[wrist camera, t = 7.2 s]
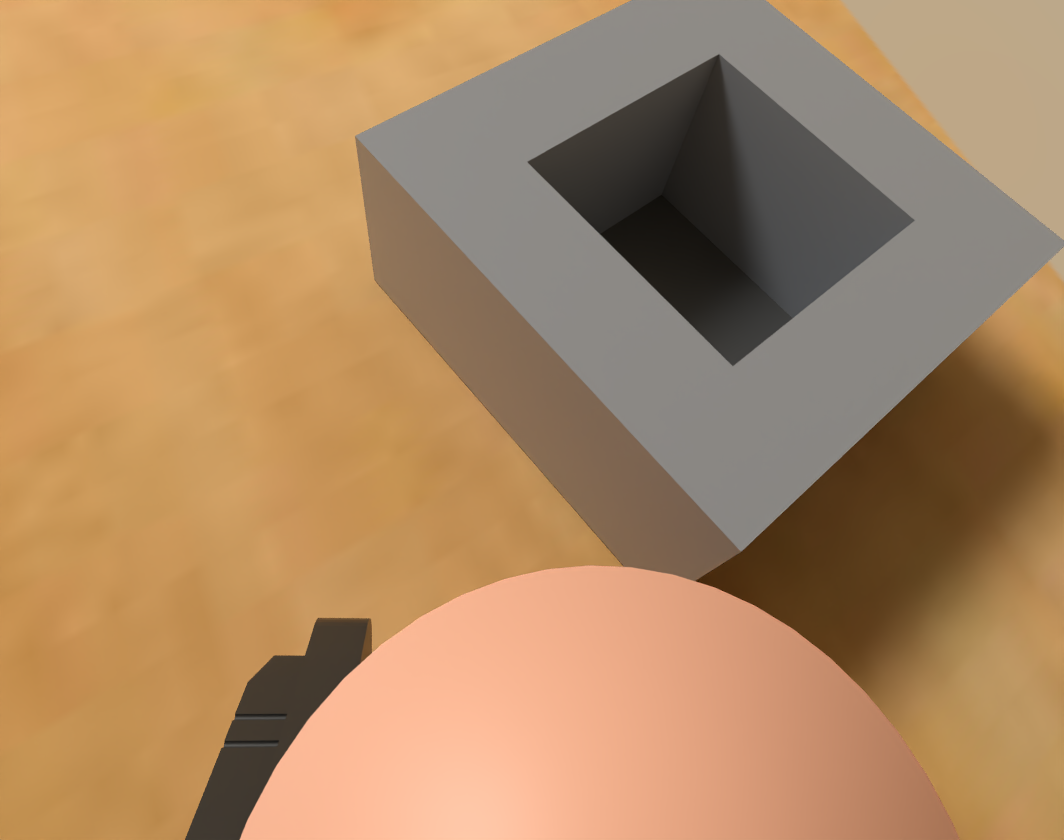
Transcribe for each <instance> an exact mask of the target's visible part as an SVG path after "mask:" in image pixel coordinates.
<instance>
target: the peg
mask: <svg viewBox="0 0 1064 840" xmlns="http://www.w3.org/2000/svg"><path fill="white" fill-rule="evenodd" d="M240 840H960V839H959V837H958V835H957V832H956V830H955V827H954V825H953V823H952V821H951V819H950V817H949V815H948V813H947V811H946V810H945V808H944V806H943V804H942V802H941V800H940V798H939V797H938V795H937V793H936V791H935V789H934V787H933V785H932V784H931V782H930V780H929V778H928V776H927V774H926V773H925V771H924V770H923V768H922V767H921V765H920V764H919V762H918V761H917V759H916V758H915V756H914V755H913V753H912V752H911V750H910V749H909V747H908V746H907V744H906V743H905V741H904V740H903V739H902V737H901V736H900V734H899V733H898V731H897V730H896V729H895V727H894V726H893V725H892V724H891V723H890V721H889V720H888V719H887V718H886V717H885V715H884V714H883V713H882V712H881V710H880V709H879V708H878V707H877V706H876V704H875V703H874V702H873V701H872V700H871V698H870V697H869V696H868V695H867V694H866V692H865V691H864V690H863V689H862V688H861V687H860V686H859V685H858V684H856V683H855V682H854V681H853V680H852V679H851V678H850V677H849V676H848V675H847V674H846V673H845V672H844V671H843V670H842V669H841V668H840V667H839V666H838V665H837V664H836V663H835V662H834V661H833V660H832V659H831V658H830V657H828V656H827V655H826V654H825V653H823V652H822V651H821V650H819V649H818V648H817V647H816V646H814V645H813V644H812V643H810V642H809V641H808V640H807V639H805V638H804V637H803V636H801V635H800V634H799V633H798V632H796V631H795V630H794V629H792V628H791V627H789V626H787V625H786V624H784V623H782V622H781V621H779V620H777V619H776V618H774V617H772V616H771V615H769V614H768V613H766V612H764V611H763V610H761V609H759V608H758V607H756V606H754V605H752V604H750V603H748V602H746V601H743V600H741V599H739V598H737V597H735V596H732V595H730V594H728V593H726V592H724V591H721V590H719V589H717V588H715V587H712V586H708V585H705V584H702V583H699V582H696V581H692V580H689V579H686V578H683V577H679V576H676V575H673V574H667V573H661V572H656V571H650V570H644V569H638V568H633V567H612V566H579V567H568V568H557V569H546V570H542V571H538V572H533V573H529V574H524V575H520V576H516V577H511V578H507V579H503V580H501V581H498V582H495V583H492V584H490V585H487V586H484V587H482V588H479V589H476V590H474V591H471V592H468V593H466V594H463V595H461V596H459V597H457V598H455V599H453V600H451V601H450V602H448V603H446V604H444V605H442V606H440V607H438V608H436V609H434V610H433V611H431V612H429V613H427V614H425V615H423V616H421V617H420V618H418V619H417V620H416V621H414V622H413V623H411V624H410V625H408V626H407V627H406V628H404V629H403V630H401V631H400V632H398V633H397V634H396V635H394V636H393V637H391V638H390V639H389V640H387V641H386V642H384V643H383V644H382V645H380V646H379V647H378V648H377V649H376V650H375V651H374V652H373V653H372V654H370V655H369V656H368V657H367V658H366V659H365V660H364V661H363V662H362V663H361V664H359V665H358V666H357V667H356V668H355V669H354V670H353V671H352V672H351V673H349V674H348V675H347V676H346V677H345V678H344V679H343V680H342V681H341V682H340V684H339V685H338V686H337V687H336V688H335V689H334V690H333V692H332V693H331V694H330V695H329V696H328V697H327V699H326V700H325V701H324V702H323V703H322V704H321V705H320V707H319V708H318V709H317V710H316V711H315V712H314V713H313V715H312V716H311V717H310V718H309V719H308V721H307V722H306V724H305V725H304V726H303V728H302V729H301V731H300V732H299V734H298V735H297V737H296V738H295V740H294V741H293V743H292V744H291V745H290V747H289V748H288V750H287V751H286V753H285V754H284V756H283V757H282V759H281V760H280V761H279V763H278V764H277V766H276V768H275V769H274V771H273V773H272V775H271V777H270V779H269V781H268V783H267V784H266V786H265V788H264V790H263V792H262V794H261V796H260V798H259V799H258V801H257V803H256V805H255V807H254V809H253V811H252V813H251V814H250V816H249V818H248V820H247V823H246V825H245V828H244V830H243V833H242V835H241V838H240Z"/></svg>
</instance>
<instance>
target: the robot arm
mask: <svg viewBox="0 0 1064 840" xmlns="http://www.w3.org/2000/svg"><path fill="white" fill-rule="evenodd" d="M370 654H372V626H371V619H359V618H318V619H317V620H316V622H315V625H314V628H313V632H312V635H311V638H310V641H309V645H308V648H307V651H306V654H305V656H273V657H272V658H271V659H270V661H269V662H268V663H267V664H266V665H265V666H264V667H263V668H262V669H261V670H260V671H259V672H258V673H257V674H256V675H255V676H254V677H253V678H252V679H251V680H250V681H249V682H248V683H247V686H246V688H245V691H244V693H243V696H242V698H241V701H240V703H239V706H238V708H237V711H236V713H235V720H233V721H232V723H231V726H230V728H229V731H228V733H227V736H226V738H225V743H224V748H221V751H220V753H219V756H218V758H217V761H216V763H215V766H214V768H213V771H212V773H211V776H210V778H209V781H208V783H207V786H206V788H205V791H204V793H203V796H202V799H201V801H200V804H199V806H198V809H197V811H196V814H195V816H194V819H193V821H192V824H191V826H190V829H189V831H188V834H187V836H186V839H185V840H240V838H241V835H242V833H243V830H244V828H245V825H246V823H247V820H248V818H249V816H250V814H251V813H252V811H253V809H254V807H255V805H256V803H257V801H258V799H259V798H260V796H261V794H262V792H263V790H264V788H265V786H266V784H267V783H268V781H269V779H270V777H271V775H272V773H273V771H274V769H275V768H276V766H277V764H278V763H279V761H280V760H281V759H282V757H283V756H284V754H285V753H286V751H287V750H288V748H289V747H290V745H291V744H292V743H293V741H294V740H295V738H296V737H297V735H298V734H299V732H300V731H301V729H302V728H303V726H304V725H305V724H306V722H307V721H308V719H309V718H310V717H311V716H312V715H313V713H314V712H315V711H316V710H317V709H318V708H319V707H320V705H321V704H322V703H323V702H324V701H325V700H326V699H327V697H328V696H329V695H330V694H331V693H332V692H333V690H334V689H335V688H336V687H337V686H338V685H339V684H340V682H341V681H342V680H343V679H344V678H345V677H346V676H347V675H348V674H349V673H351V672H352V671H353V670H354V669H355V668H356V667H357V666H358V665H359V664H361V663H362V662H363V661H364V660H365V659H366V658H367V657H368V656H369V655H370Z"/></svg>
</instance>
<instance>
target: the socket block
mask: <svg viewBox="0 0 1064 840" xmlns="http://www.w3.org/2000/svg"><path fill="white" fill-rule="evenodd" d="M355 139H356V146H357V153H358V161H359V168H360V175H361V183H362V190H363V198H364V205H365V212H366V220H367V227H368V235H369V242H370V249H371V257H372V264H373V271H374V279H375V281H376V282H377V283H378V284H379V286H380V287H381V288H382V289H383V290H384V291H385V292H386V294H387V295H388V296H389V297H390V298H391V299H392V300H393V302H394V303H395V304H396V305H397V306H398V307H399V309H400V310H401V311H402V312H403V313H404V314H405V315H406V317H407V318H408V319H409V320H410V321H411V322H412V323H413V325H414V326H415V327H416V328H417V329H418V330H419V331H420V333H421V334H422V335H423V336H424V337H425V338H426V340H427V341H428V342H429V343H430V344H431V345H432V346H433V348H434V349H435V350H436V351H437V352H438V353H439V354H440V356H441V357H442V358H443V359H444V360H445V361H446V363H447V364H448V365H449V366H450V367H451V368H452V369H453V371H454V372H455V373H456V374H457V375H458V376H459V377H460V379H461V380H462V381H463V382H464V383H465V384H466V385H467V387H468V388H469V389H470V390H471V391H472V392H473V394H474V395H475V396H476V397H477V398H478V399H479V400H480V402H481V403H482V404H483V405H484V406H485V407H486V408H487V410H488V411H489V412H490V413H491V414H492V415H493V416H494V418H495V419H496V420H497V421H498V422H499V423H500V425H501V426H502V427H503V428H504V429H505V430H506V431H507V433H508V434H509V435H510V436H511V437H512V438H513V439H514V441H515V442H516V443H517V444H518V445H519V446H520V447H521V449H522V450H523V451H524V452H525V453H526V454H527V456H528V457H529V458H530V459H531V460H532V461H533V462H534V464H535V465H536V466H537V467H538V468H539V469H540V470H541V472H542V473H543V474H544V475H545V476H546V477H547V478H548V480H549V481H550V482H551V483H552V484H553V485H554V487H555V488H556V489H557V490H558V491H559V492H560V493H561V495H562V496H563V497H564V498H565V499H566V500H567V501H568V503H569V504H570V505H571V506H572V507H573V508H574V509H575V511H576V512H577V513H578V514H579V515H580V516H581V518H582V519H583V520H584V521H585V522H586V523H587V524H588V526H589V527H590V528H591V529H592V530H593V531H594V532H595V534H596V535H597V536H598V537H599V538H600V539H601V541H602V542H603V543H604V544H605V545H606V546H607V547H608V549H609V550H610V551H611V552H612V553H613V554H614V555H615V557H616V558H617V559H618V560H619V561H620V562H621V563H622V565H623V566H624V567H633V568H638V569H644V570H650V571H656V572H661V573H667V574H673V575H676V576H679V577H683V578H686V579H689V580H692V581H696V580H697V579H699V578H700V577H702V576H704V575H705V574H707V573H708V572H710V571H712V570H713V569H715V568H716V567H718V566H719V565H721V564H723V563H724V562H726V561H727V560H729V559H731V558H732V557H734V556H735V555H737V554H738V553H740V552H741V551H743V550H744V549H745V548H746V547H747V546H748V545H749V544H750V543H751V542H752V541H753V540H754V539H755V538H756V537H757V536H758V535H759V534H761V533H762V532H763V531H764V530H765V529H766V528H767V527H768V526H769V525H770V524H771V523H772V522H773V521H774V520H775V519H776V518H777V517H778V516H780V515H781V514H782V513H783V512H784V511H785V510H786V509H787V508H788V507H789V506H790V505H791V504H792V503H793V502H794V501H795V500H796V499H798V498H799V497H800V496H801V495H802V494H803V493H804V492H805V491H806V490H807V489H808V488H809V487H810V486H811V485H812V484H813V483H814V482H815V481H817V480H818V479H819V478H820V477H821V476H822V475H823V474H824V473H825V472H826V471H827V470H828V469H829V468H830V467H831V466H832V465H833V464H835V463H836V462H837V461H838V460H839V459H840V458H841V457H842V456H843V455H844V454H845V453H846V452H847V451H848V450H849V449H850V448H851V447H852V446H854V445H855V444H856V443H857V442H858V441H859V440H860V439H861V438H862V437H863V436H864V435H865V434H866V433H867V432H868V431H869V430H870V429H872V428H873V427H874V426H875V425H876V424H877V423H878V422H879V421H880V420H881V419H882V418H883V417H884V416H885V415H886V414H887V413H888V412H889V411H891V410H892V409H893V408H894V407H895V406H896V405H897V404H898V403H899V402H900V401H901V400H902V399H903V398H904V397H905V396H906V395H907V394H909V393H910V392H911V391H912V390H913V389H914V388H915V387H916V386H917V385H918V384H919V383H920V382H921V381H922V380H923V379H924V378H925V377H926V376H928V375H929V374H930V373H931V372H932V371H933V370H934V369H935V368H936V367H937V366H938V365H939V364H940V363H941V362H942V361H943V360H944V359H946V358H947V357H948V356H949V355H950V354H951V353H952V352H953V351H954V350H955V349H956V348H957V347H958V346H959V345H960V344H961V343H962V342H963V341H965V340H966V339H967V338H968V337H969V336H970V335H971V334H972V333H973V332H974V331H975V330H976V329H977V328H978V327H979V326H980V325H981V324H983V323H984V322H985V321H986V320H987V319H988V318H989V317H990V316H991V315H992V314H993V313H994V312H995V311H996V310H997V309H998V308H999V307H1001V306H1002V305H1003V304H1004V303H1005V302H1006V301H1007V300H1008V299H1009V298H1010V297H1011V296H1012V295H1013V294H1014V293H1015V292H1016V291H1017V290H1018V289H1020V288H1021V287H1022V286H1023V285H1024V284H1025V283H1026V282H1027V281H1028V280H1029V279H1030V278H1031V277H1032V276H1033V275H1034V274H1035V273H1036V272H1038V271H1039V270H1040V269H1041V268H1042V267H1043V266H1044V265H1045V264H1046V263H1047V262H1048V261H1049V260H1050V259H1051V258H1052V257H1053V256H1054V255H1055V254H1056V253H1058V252H1059V251H1060V250H1061V249H1062V248H1063V247H1064V240H1062V239H1061V238H1060V237H1059V236H1057V235H1056V234H1055V233H1054V232H1053V231H1051V230H1050V229H1049V228H1047V227H1046V226H1045V225H1044V224H1043V223H1041V222H1040V221H1039V220H1037V219H1036V218H1035V217H1034V216H1033V215H1031V214H1030V213H1029V212H1028V211H1026V210H1025V209H1024V208H1023V207H1021V206H1020V205H1019V204H1018V203H1016V202H1015V201H1014V200H1013V199H1012V198H1010V197H1009V196H1008V195H1006V194H1005V193H1004V192H1003V191H1001V190H1000V189H999V188H998V187H997V186H995V185H994V184H993V183H991V182H990V181H989V180H988V179H987V178H985V177H984V176H983V175H982V174H980V173H979V172H978V171H977V170H976V169H974V168H973V167H972V166H971V165H969V164H968V163H967V162H966V161H964V160H963V159H962V158H961V157H959V156H958V155H957V154H956V153H954V152H953V151H952V150H951V149H949V148H948V147H947V146H946V145H944V144H943V143H942V142H941V141H940V140H938V139H937V138H936V137H935V136H933V135H932V134H931V133H930V132H928V131H927V130H926V129H925V128H923V127H922V126H921V125H920V124H918V123H917V122H916V121H915V120H913V119H912V118H911V117H910V116H908V115H907V114H906V113H905V112H903V111H902V110H901V109H900V108H899V107H897V106H896V105H895V104H894V103H892V102H891V101H890V100H889V99H887V98H886V97H885V96H884V95H882V94H881V93H880V92H879V91H877V90H876V89H875V88H874V87H872V86H871V85H870V84H869V83H867V82H866V81H865V80H864V79H863V78H861V77H860V76H859V75H858V74H856V73H855V72H854V71H853V70H851V69H850V68H849V67H848V66H846V65H845V64H844V63H843V62H841V61H840V60H839V59H838V58H836V57H835V56H834V55H833V54H831V53H830V52H829V51H828V50H827V49H825V48H824V47H823V46H822V45H820V44H819V43H818V42H817V41H815V40H814V39H813V38H812V37H810V36H809V35H808V34H807V33H805V32H804V31H803V30H802V29H800V28H799V27H798V26H797V25H795V24H794V23H793V22H792V21H790V20H789V19H788V18H787V17H786V16H784V15H783V14H782V13H781V12H779V11H778V10H777V9H776V8H774V7H773V6H772V5H771V4H769V3H768V2H767V1H766V0H631V1H629V2H627V3H625V4H623V5H621V6H619V7H617V8H615V9H613V10H611V11H609V12H607V13H605V14H603V15H601V16H599V17H597V18H594V19H592V20H590V21H588V22H586V23H584V24H582V25H580V26H578V27H576V28H574V29H572V30H570V31H568V32H566V33H564V34H562V35H560V36H558V37H556V38H554V39H552V40H550V41H548V42H546V43H544V44H542V45H539V46H537V47H535V48H533V49H531V50H529V51H527V52H525V53H523V54H521V55H519V56H517V57H515V58H513V59H511V60H509V61H507V62H505V63H503V64H501V65H499V66H497V67H495V68H493V69H491V70H489V71H487V72H485V73H482V74H480V75H478V76H476V77H474V78H472V79H470V80H468V81H466V82H464V83H462V84H460V85H458V86H456V87H454V88H452V89H450V90H448V91H446V92H444V93H442V94H440V95H438V96H436V97H434V98H432V99H430V100H427V101H425V102H423V103H421V104H419V105H417V106H415V107H413V108H411V109H409V110H407V111H405V112H403V113H401V114H399V115H397V116H395V117H393V118H391V119H389V120H387V121H385V122H383V123H381V124H379V125H377V126H375V127H373V128H370V129H368V130H366V131H364V132H362V133H360V134H358V135H356V136H355Z"/></svg>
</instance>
